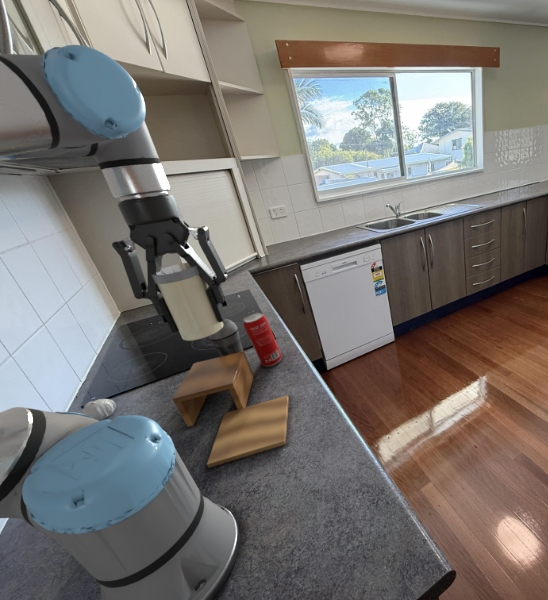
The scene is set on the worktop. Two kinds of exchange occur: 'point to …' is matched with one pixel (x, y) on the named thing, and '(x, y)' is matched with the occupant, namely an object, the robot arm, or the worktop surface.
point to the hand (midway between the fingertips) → (200, 323)
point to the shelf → (214, 384)
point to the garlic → (99, 409)
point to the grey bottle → (227, 339)
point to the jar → (187, 301)
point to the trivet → (250, 431)
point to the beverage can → (262, 339)
